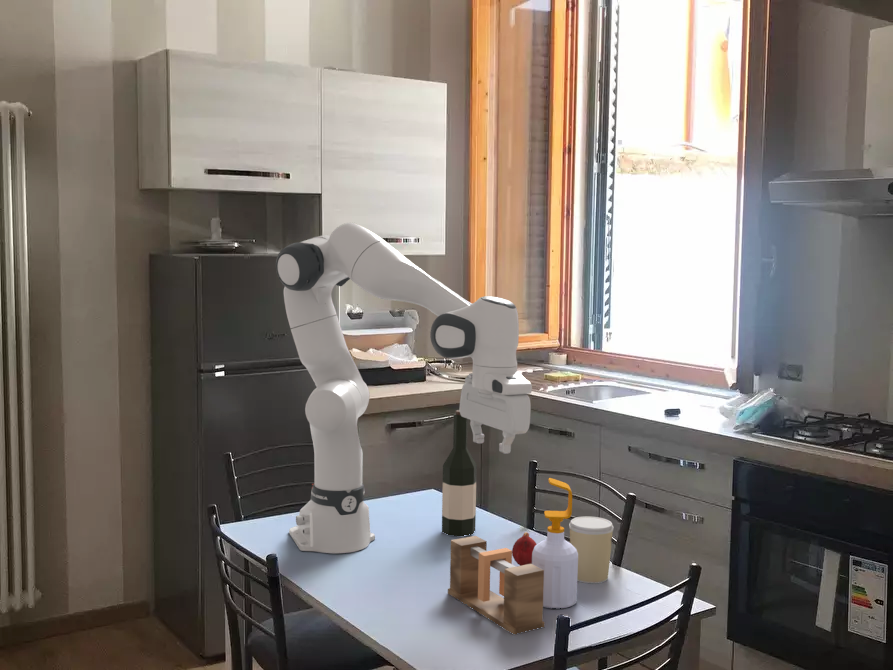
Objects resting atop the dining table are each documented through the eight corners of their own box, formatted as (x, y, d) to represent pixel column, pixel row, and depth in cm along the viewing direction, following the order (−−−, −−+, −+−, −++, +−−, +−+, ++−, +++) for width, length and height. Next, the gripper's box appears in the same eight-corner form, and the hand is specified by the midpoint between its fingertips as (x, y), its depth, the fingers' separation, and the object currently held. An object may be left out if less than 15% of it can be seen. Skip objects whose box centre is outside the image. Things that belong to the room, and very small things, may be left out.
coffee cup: (620, 579, 201) (623, 524, 200) (587, 588, 196) (589, 531, 195) (591, 566, 209) (593, 513, 208) (558, 574, 204) (560, 519, 202)
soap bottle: (529, 591, 193) (532, 473, 191) (574, 593, 193) (578, 474, 190) (532, 608, 184) (535, 485, 182) (579, 610, 184) (583, 486, 182)
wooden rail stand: (447, 593, 192) (448, 540, 190) (476, 587, 195) (477, 535, 194) (513, 634, 172) (515, 576, 171) (544, 627, 176) (546, 569, 174)
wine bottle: (454, 524, 238) (456, 406, 235) (482, 530, 233) (484, 410, 230) (434, 532, 231) (436, 411, 228) (462, 539, 226) (465, 415, 223)
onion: (536, 574, 204) (537, 537, 203) (510, 571, 205) (511, 535, 204) (539, 565, 209) (540, 529, 208) (513, 562, 210) (514, 527, 210)
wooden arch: (477, 598, 183) (478, 552, 182) (505, 592, 186) (506, 547, 185) (483, 601, 181) (484, 556, 180) (510, 595, 184) (512, 550, 183)
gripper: (453, 372, 195) (450, 438, 196) (510, 387, 177) (507, 460, 179) (479, 371, 198) (476, 435, 200) (537, 386, 181) (534, 457, 182)
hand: (491, 447), depth 189 cm, fingers open, 8 cm apart
